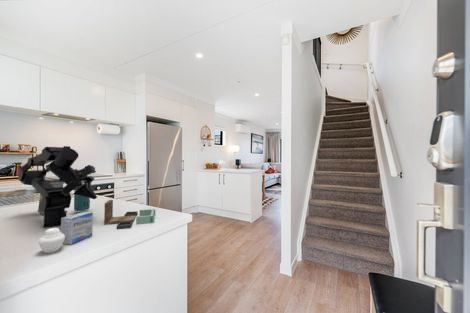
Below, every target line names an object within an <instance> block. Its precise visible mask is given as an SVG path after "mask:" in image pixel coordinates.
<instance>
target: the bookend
mask: <svg viewBox="0 0 470 313" xmlns="http://www.w3.org/2000/svg"><path fill="white" fill-rule="evenodd" d="M113 202H114V200H113V199H108V200H107V201H106V202H105V203H104V211H103V212H104V214H103V215H104V218H103V223H104V226H105V225H108V224H109V225H118V223H119V222H129V221H133V223H134V222H135V221H136V217H137V216H136V215H135V216H125V215H122V216H121V215H120V216H113V211H114V210H113V209H114V208H113V207H114V205H113V204H114V203H113Z"/></svg>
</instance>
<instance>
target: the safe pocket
mask: <svg viewBox="0 0 470 313" xmlns="http://www.w3.org/2000/svg"><path fill="white" fill-rule="evenodd" d="M155 216H156V208H149V209H139V216H138V215H137V216H136V218H135V221H136V222H135V223H136V225H140V224H143V225H144V224H153V223H155Z"/></svg>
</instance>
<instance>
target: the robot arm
mask: <svg viewBox="0 0 470 313" xmlns="http://www.w3.org/2000/svg"><path fill="white" fill-rule="evenodd" d="M78 158H79V153H78V152H77V151H76V150H75V149H73V148H71V146H69V145H64V146H61V147H60V146H58V147H57V146H45V147H44V148H42V149H41V153H40V154H37V155H35V156H33V157H28V159H27V162H26V163H25V164H24V165H23V166H21V167H20V169H19V172H18V176H17V178H18V181H19V182H20V183H21V184H23V185H24V186H25V185H26V186H32V188H34V189H35V190H36V191H37V193H39V195H40V194H41V195H42V196H43V199H42V200H41V202H40V204H39V203H38V207H39V211H42V212H44V215H43V225H42V228H48V227H50V228H51V227H55V226H61V218H63V217H67V210H65V209H69V208H70V207H71V202H72V194H71V192H72V191H74V190H75V191H76V192H73V195H74V194H76V195H81V196H84V197H88V198H90V199H91V200H96V199H97V198H98V196H97V194H96V193H95V191H94V190H93V188H92V183H93V181H95V179H96V178H95V177H93V176H92V175H91V174H96V173H97V171H96V167H95V166H94V165H91V164H87V165H86V166H84V168H81V169H77V168H76V169H75V168H73V167H72V166H73V165H74V163H75V161H76V160H77V159H78ZM46 164H47V165H46ZM32 167H42V169H36V170H32V169H31V168H32ZM30 169H31V170H30ZM49 172H51V173H52V174H53V175H54V176H56V177H57V179H59V181H60V182H62V181H63V182H64V184H65V186H63V187H56V188H55V187H53V186H52V185H51V184H50V183H49V182H48V181H47V180H45V178H46V176H47V173H49ZM86 175H87V177H86Z"/></svg>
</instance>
